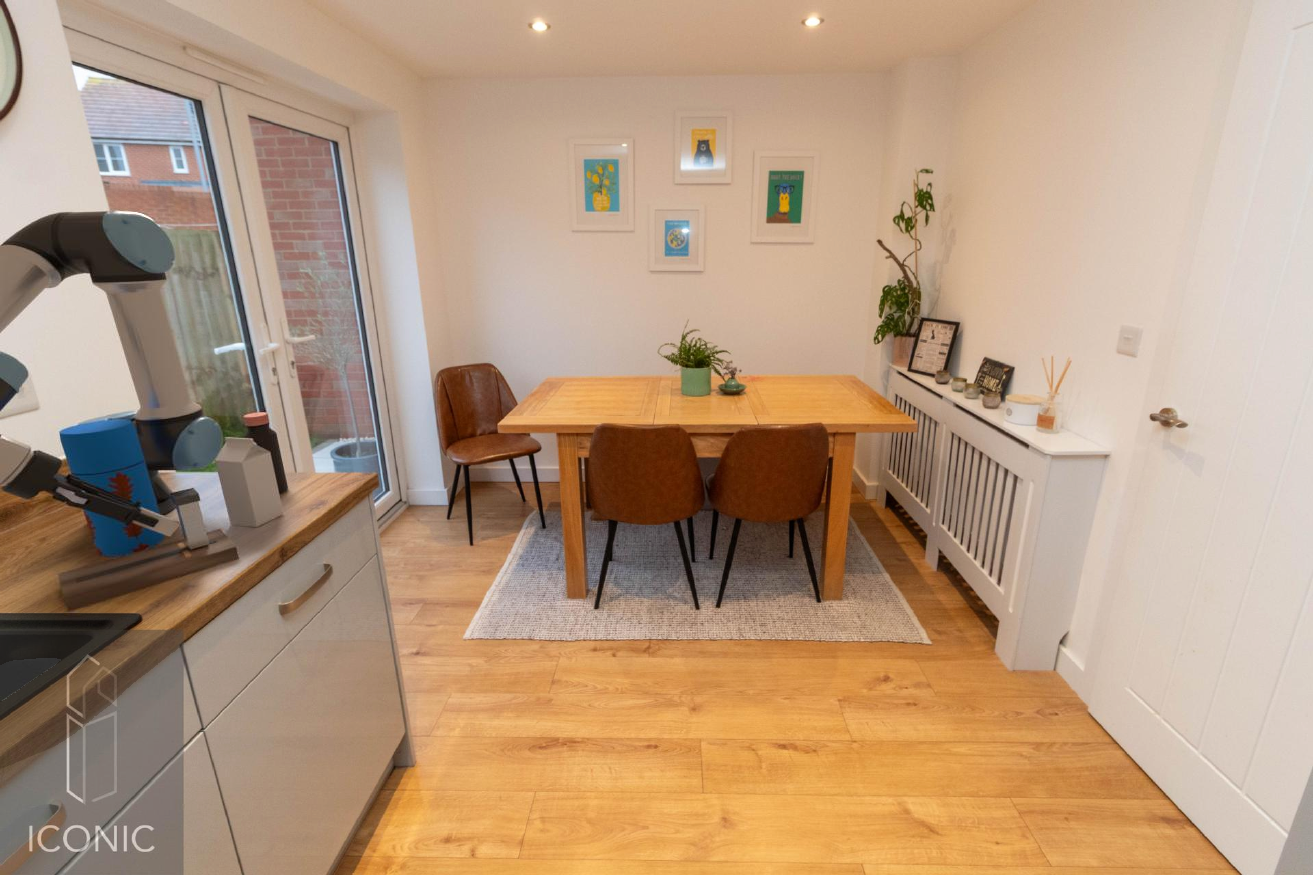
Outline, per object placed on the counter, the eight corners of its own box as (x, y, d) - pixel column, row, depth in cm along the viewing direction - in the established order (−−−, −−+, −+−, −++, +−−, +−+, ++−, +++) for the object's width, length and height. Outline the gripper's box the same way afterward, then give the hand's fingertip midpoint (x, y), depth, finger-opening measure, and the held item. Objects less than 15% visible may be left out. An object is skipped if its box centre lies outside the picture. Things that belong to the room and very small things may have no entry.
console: (62, 586, 105) (57, 573, 104) (223, 539, 122) (220, 528, 121) (67, 611, 97) (63, 597, 96) (238, 558, 114) (235, 546, 113)
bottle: (277, 497, 143) (260, 418, 137) (249, 497, 143) (231, 418, 138) (294, 487, 150) (278, 411, 144) (267, 487, 150) (250, 411, 144)
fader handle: (183, 543, 114) (169, 493, 111) (206, 536, 116) (193, 487, 113) (188, 550, 111) (174, 499, 108) (211, 543, 113) (198, 493, 110)
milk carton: (257, 527, 127) (237, 443, 121) (230, 525, 128) (209, 442, 123) (284, 514, 134) (266, 434, 128) (258, 512, 135) (240, 432, 130)
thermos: (108, 561, 113) (68, 437, 106) (88, 548, 119) (49, 429, 112) (175, 539, 122) (142, 423, 115) (154, 528, 128) (121, 416, 120)
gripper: (-3, 479, 97) (153, 536, 114) (-2, 499, 89) (166, 558, 105) (33, 441, 99) (181, 502, 116) (37, 457, 91) (195, 521, 107)
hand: (174, 529), depth 110 cm, fingers closed
